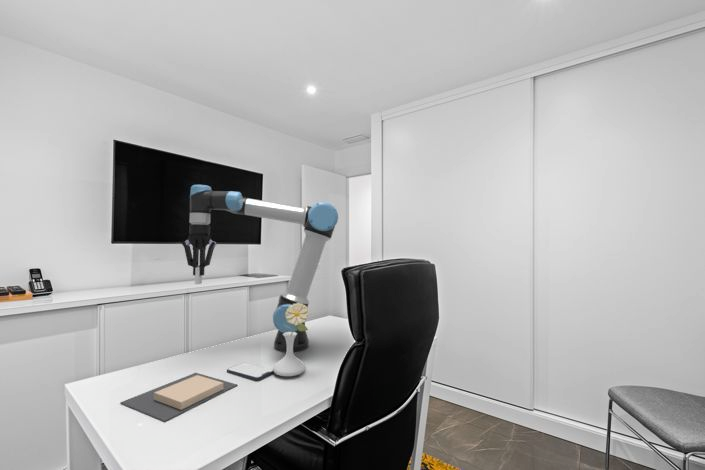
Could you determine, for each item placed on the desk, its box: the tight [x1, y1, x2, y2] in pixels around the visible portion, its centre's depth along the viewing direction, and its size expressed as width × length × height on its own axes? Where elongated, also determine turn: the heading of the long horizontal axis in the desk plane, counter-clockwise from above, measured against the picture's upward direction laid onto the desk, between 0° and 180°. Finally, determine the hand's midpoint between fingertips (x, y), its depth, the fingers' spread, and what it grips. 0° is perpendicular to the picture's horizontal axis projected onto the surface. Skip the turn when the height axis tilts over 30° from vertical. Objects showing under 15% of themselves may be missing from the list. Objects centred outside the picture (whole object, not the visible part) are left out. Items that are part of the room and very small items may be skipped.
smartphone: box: [226, 362, 275, 382], centre depth 114 cm, size 9×2×16 cm
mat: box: [120, 372, 238, 423], centre depth 97 cm, size 24×20×1 cm
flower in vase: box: [272, 303, 310, 377], centre depth 114 cm, size 13×11×25 cm
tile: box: [154, 375, 223, 410], centre depth 96 cm, size 14×2×12 cm
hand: (198, 283), depth 128 cm, fingers closed
